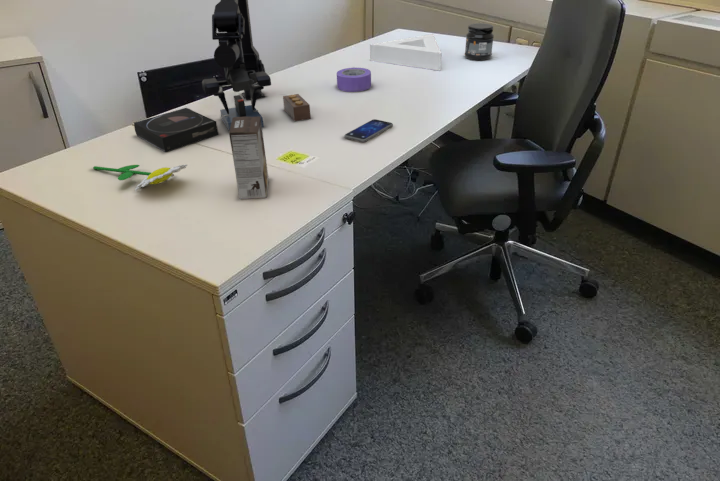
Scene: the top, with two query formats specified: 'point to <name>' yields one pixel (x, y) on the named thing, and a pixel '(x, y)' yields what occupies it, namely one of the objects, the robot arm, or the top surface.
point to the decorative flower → (152, 178)
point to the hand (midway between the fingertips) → (240, 111)
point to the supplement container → (479, 41)
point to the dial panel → (232, 113)
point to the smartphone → (368, 130)
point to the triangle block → (408, 52)
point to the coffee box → (249, 157)
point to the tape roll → (353, 79)
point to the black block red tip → (239, 105)
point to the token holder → (296, 107)
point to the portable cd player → (176, 129)
